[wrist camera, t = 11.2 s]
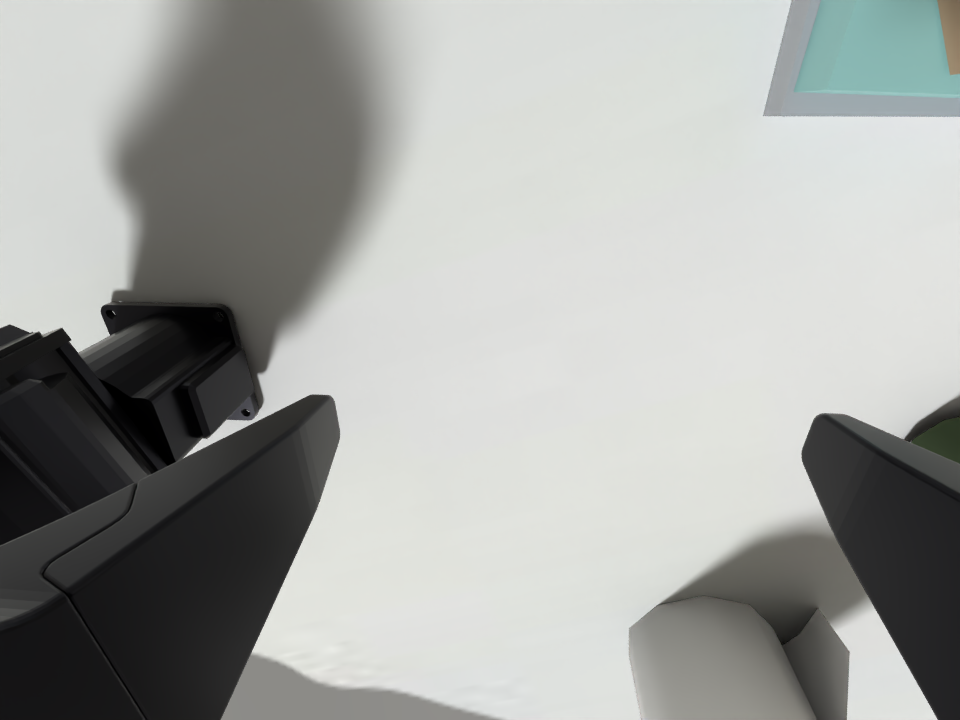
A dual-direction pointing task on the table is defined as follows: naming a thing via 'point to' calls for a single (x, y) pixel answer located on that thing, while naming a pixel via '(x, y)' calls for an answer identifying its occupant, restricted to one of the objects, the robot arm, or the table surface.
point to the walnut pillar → (951, 32)
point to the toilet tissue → (734, 665)
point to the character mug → (942, 439)
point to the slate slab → (827, 104)
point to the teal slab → (877, 50)
